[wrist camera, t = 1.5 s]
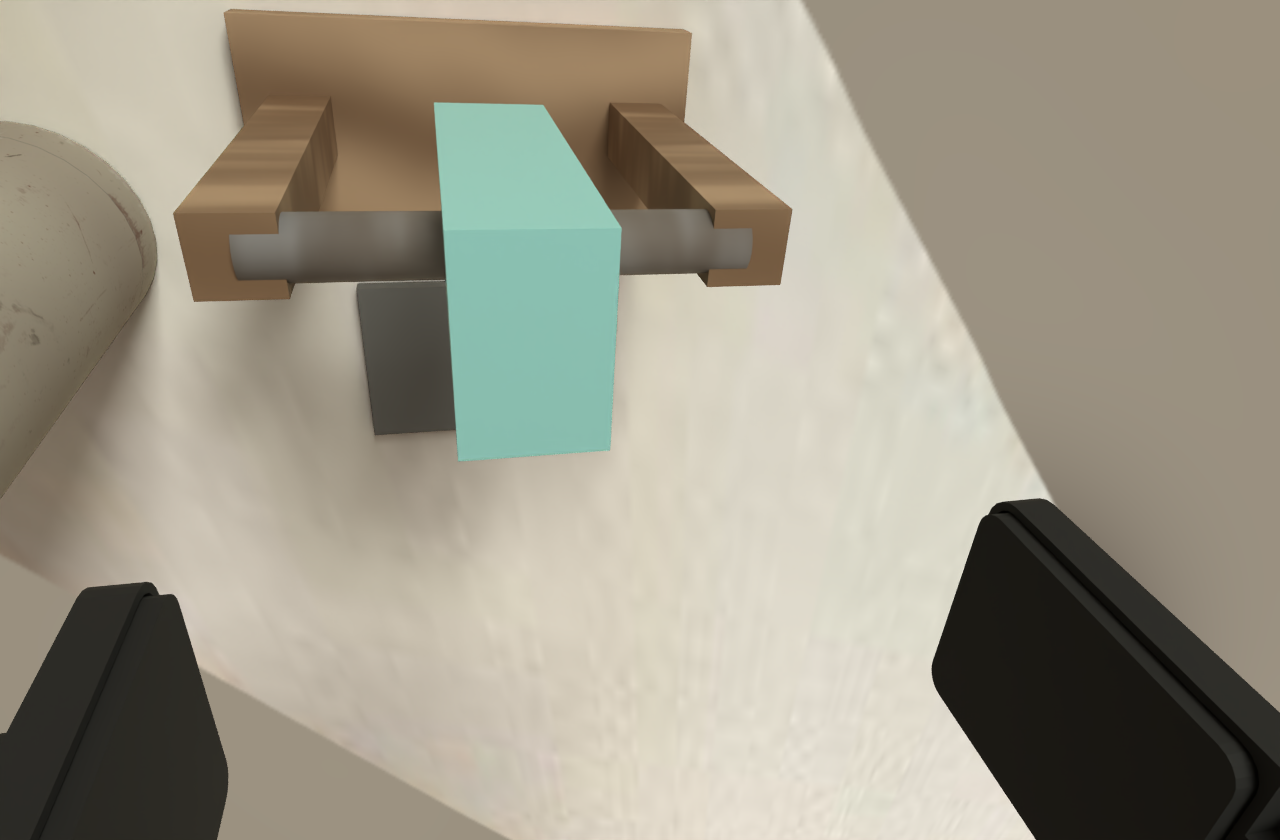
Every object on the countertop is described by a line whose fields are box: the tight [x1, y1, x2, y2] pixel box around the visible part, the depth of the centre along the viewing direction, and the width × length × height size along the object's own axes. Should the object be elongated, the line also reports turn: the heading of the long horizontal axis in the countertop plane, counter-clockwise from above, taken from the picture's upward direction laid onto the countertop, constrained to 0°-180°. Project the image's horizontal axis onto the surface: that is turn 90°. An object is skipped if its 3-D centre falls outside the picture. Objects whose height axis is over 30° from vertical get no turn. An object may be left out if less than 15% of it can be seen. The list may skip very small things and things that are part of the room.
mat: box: [357, 281, 456, 435], centre depth 36 cm, size 7×10×1 cm
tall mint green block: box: [434, 102, 622, 461], centre depth 19 cm, size 5×3×11 cm, turn 177°
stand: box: [173, 9, 792, 302], centre depth 25 cm, size 7×16×15 cm, turn 87°
